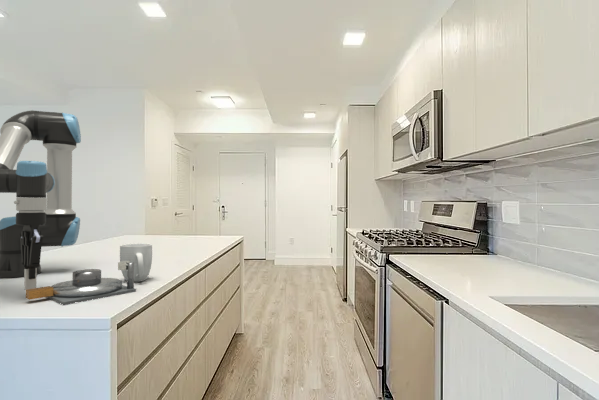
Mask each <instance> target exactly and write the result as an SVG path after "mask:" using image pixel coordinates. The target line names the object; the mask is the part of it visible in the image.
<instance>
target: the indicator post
mask: <svg viewBox="0 0 599 400" xmlns="http://www.w3.org/2000/svg"><path fill="white" fill-rule="evenodd" d="M117 270H118V271H121V270H127V281H126V284H127V285H126V286H127V289H132V288H134V289H135V282H134V262H130V261H121V262H120V261H119V262H117Z"/></svg>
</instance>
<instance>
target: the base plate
mask: <svg viewBox="0 0 599 400" xmlns="http://www.w3.org/2000/svg"><path fill="white" fill-rule="evenodd" d="M135 292H137V288H135V287H134V288H132V289H127V285H124V284H122V287H121V288H120V289H118V290H115V291H112V292H108V293H103V294H98V295H91V296H80V297H60V296H49V297H45V299H46V298H47V299H49V300H51V301H53V302H55V301H56V302H55V303H57V302H58V303H57V304H60V303H61V304H60V305H62V304H63V305H62V306H66V305H65V304H67V305H71V304H70V303H72V304H76V303H75V302H78V303H82V302H81V301H83V302H87V300H88V301H92V299H93V300H97V299H98V298H99V299H103V297H104V298H110V297H114V296H119V295H124V294H129V293H135Z"/></svg>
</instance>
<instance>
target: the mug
mask: <svg viewBox="0 0 599 400" xmlns="http://www.w3.org/2000/svg"><path fill="white" fill-rule="evenodd" d="M121 261H130V262H134V283H135V282H136V283H138V282H143V281H145V280H147V278H148V277H149V275H150V272H151V268H152V264H153V263H152V262H153V244H152V243H142V242H135V243H134V242H133V243H125V244H120V245H119V262H121ZM120 271H121V273H122V274H121V275H122V276H123V278H124V280H125V281H126V282H127V270H120Z"/></svg>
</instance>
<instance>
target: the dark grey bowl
mask: <svg viewBox="0 0 599 400" xmlns="http://www.w3.org/2000/svg"><path fill="white" fill-rule="evenodd" d="M71 278H72V279H71V280H72V285H73V286H78V287H82V286H93V285H97V284H100V283H101V278H102V269H98V268H91V269H90V268H86V269H85V268H84V269H79V270H74V271H72V277H71Z"/></svg>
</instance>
